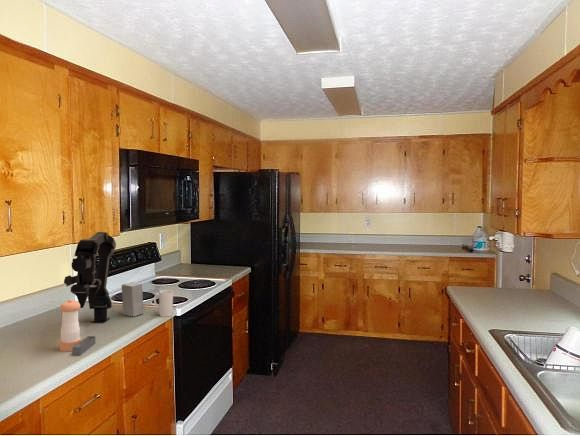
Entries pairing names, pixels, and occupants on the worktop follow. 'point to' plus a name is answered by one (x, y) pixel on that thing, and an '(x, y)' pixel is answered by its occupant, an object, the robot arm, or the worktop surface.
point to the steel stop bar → (83, 345)
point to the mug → (164, 303)
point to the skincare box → (132, 299)
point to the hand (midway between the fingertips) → (85, 305)
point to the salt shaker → (69, 325)
